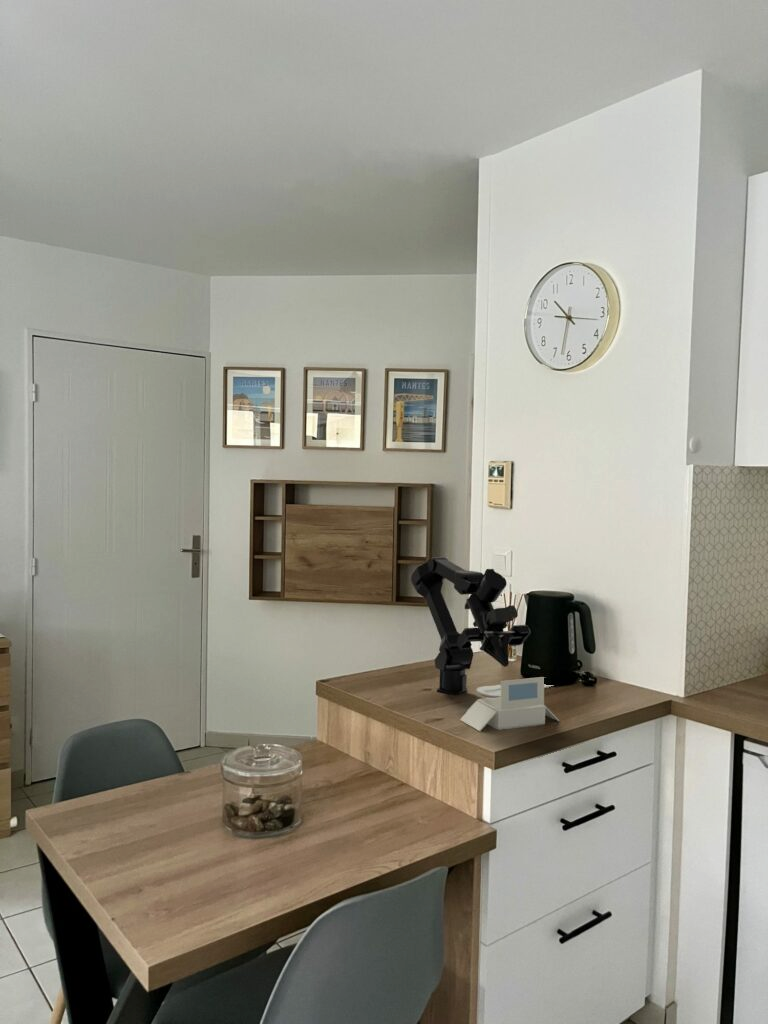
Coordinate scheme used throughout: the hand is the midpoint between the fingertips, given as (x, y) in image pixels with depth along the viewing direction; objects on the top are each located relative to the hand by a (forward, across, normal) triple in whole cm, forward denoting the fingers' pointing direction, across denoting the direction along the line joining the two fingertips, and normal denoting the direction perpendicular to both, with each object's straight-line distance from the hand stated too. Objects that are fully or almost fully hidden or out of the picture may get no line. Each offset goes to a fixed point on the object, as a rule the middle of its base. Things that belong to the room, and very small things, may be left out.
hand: (506, 665), depth 189 cm
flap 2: (+9, +9, +6) cm, 14 cm away
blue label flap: (+8, 0, -2) cm, 9 cm away
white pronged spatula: (-6, +20, +26) cm, 33 cm away
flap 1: (+9, -9, +6) cm, 14 cm away
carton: (+11, 0, +7) cm, 13 cm away
